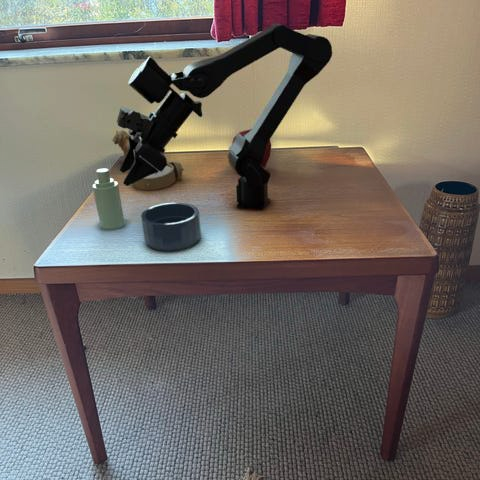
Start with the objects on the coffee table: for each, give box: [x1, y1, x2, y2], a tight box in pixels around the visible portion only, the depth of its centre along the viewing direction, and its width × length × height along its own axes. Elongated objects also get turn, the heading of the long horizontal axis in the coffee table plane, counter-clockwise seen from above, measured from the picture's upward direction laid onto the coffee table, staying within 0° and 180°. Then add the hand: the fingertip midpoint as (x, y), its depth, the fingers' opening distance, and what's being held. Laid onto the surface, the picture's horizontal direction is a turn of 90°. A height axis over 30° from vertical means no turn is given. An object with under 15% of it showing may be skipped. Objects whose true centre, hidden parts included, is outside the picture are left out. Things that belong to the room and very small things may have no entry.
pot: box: [140, 202, 202, 252], centre depth 105 cm, size 12×12×6 cm
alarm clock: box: [133, 161, 185, 191], centre depth 137 cm, size 11×5×15 cm
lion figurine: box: [111, 129, 129, 157], centre depth 150 cm, size 15×5×9 cm, turn 43°
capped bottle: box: [92, 168, 126, 230], centre depth 112 cm, size 5×5×12 cm
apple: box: [231, 127, 272, 169], centre depth 139 cm, size 11×11×12 cm
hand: (123, 177), depth 110 cm, fingers open, 9 cm apart
